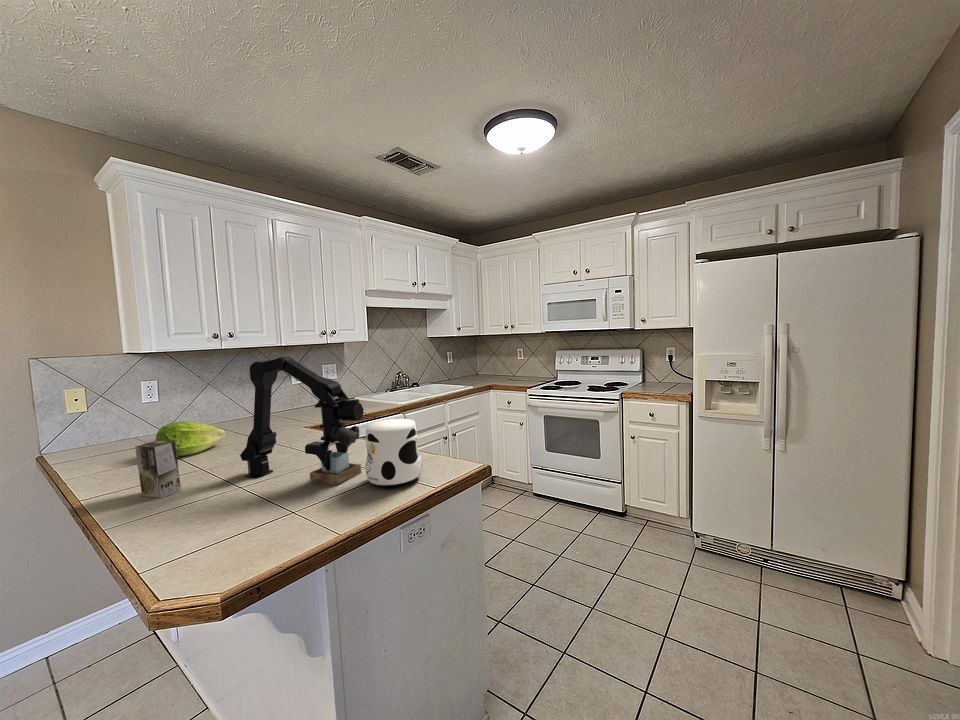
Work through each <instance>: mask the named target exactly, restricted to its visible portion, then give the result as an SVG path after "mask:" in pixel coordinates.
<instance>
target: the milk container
mask: <svg viewBox="0 0 960 720" xmlns="http://www.w3.org/2000/svg"><path fill="white" fill-rule="evenodd" d="M365 428H366V429H365V439H366V441H365V443H366V450H367V451H366V453H367V455H366V461H365V469H364V470H365V475H366V478H367V481H368V482H369V483H370V484H372V485H374V486H377V487H382V488H383V487H384V488H390V487H399V486H404V485H406V484H410V483H412V482H413V481H415V480H417V479H418V478H419V477H420V475H421V474H422V467H423V461H422V457H421V454H420V451H419V447H418V445H419V444H418V434H417V425H416V421H415V420H412V419H410V418H409V419H408V418H392V419H391V418H390V419H383V420H379V421H374V422H371V423H369V424H368V425H366V427H365Z"/></svg>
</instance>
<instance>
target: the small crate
mask: <svg viewBox="0 0 960 720" xmlns="http://www.w3.org/2000/svg"><path fill="white" fill-rule="evenodd" d="M320 463H321V466H320V467H321V468H322V472H323V473H331V474H338V473H340V472H342V471H344V470H346V469H348V468H349V463H350V458H349V452H347V453H343V452H337V451H332V453H331V454H330V470H329V471H327V470H326V468H325V467H324V465H323V464H322V462H321V461H320Z"/></svg>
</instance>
